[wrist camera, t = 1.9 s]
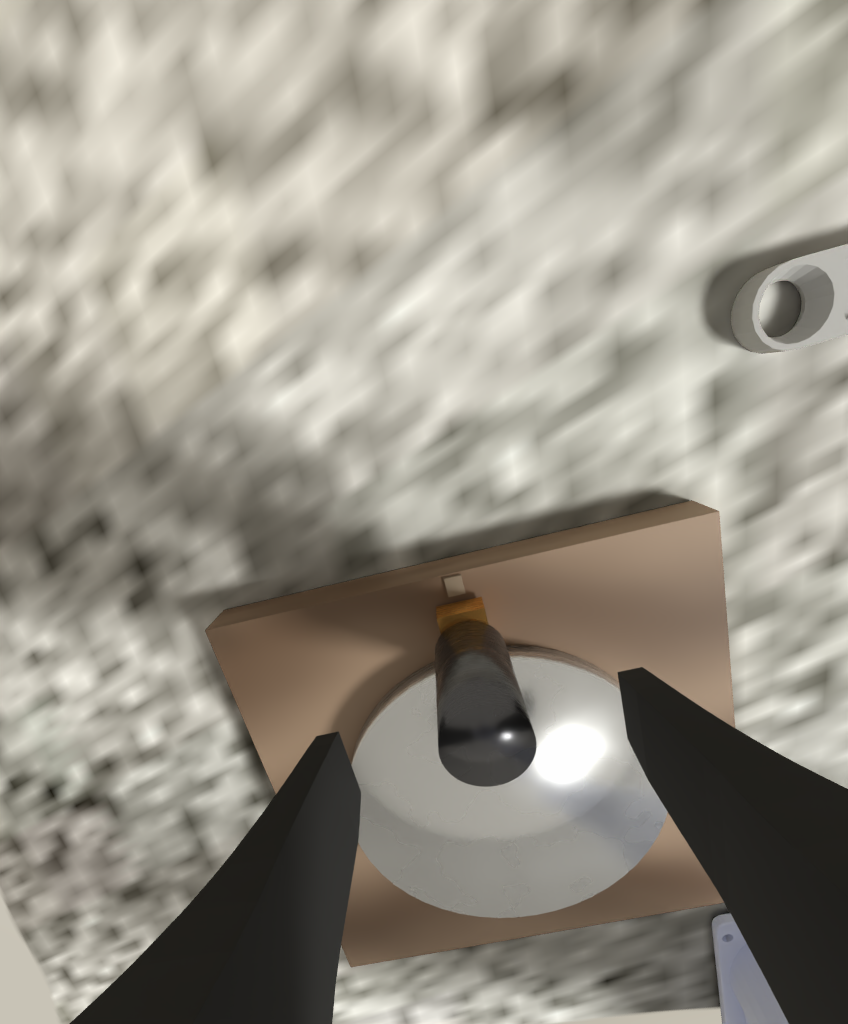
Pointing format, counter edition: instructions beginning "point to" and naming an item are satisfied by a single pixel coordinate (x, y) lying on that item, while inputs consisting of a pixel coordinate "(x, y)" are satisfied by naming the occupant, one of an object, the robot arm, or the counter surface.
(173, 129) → the counter surface
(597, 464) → the counter surface
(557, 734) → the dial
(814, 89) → the counter surface
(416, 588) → the dial board
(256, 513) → the counter surface
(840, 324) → the adjustable wrench
